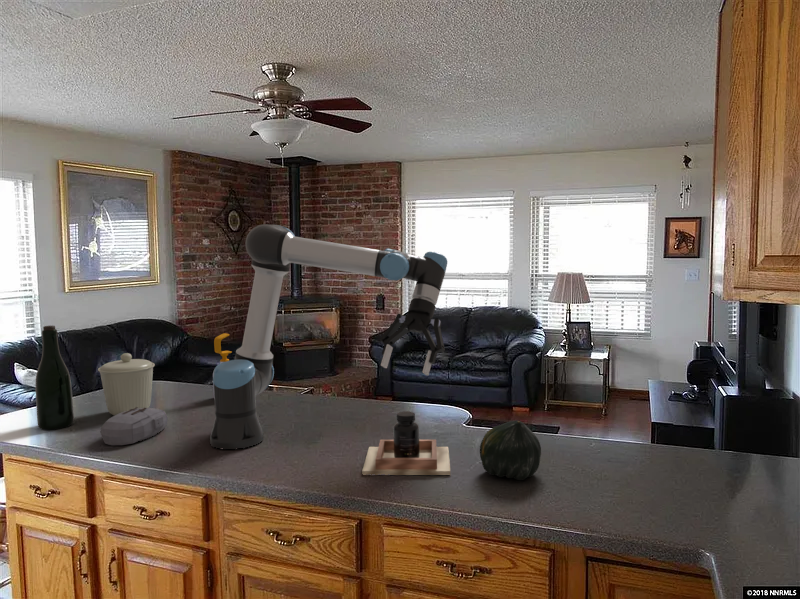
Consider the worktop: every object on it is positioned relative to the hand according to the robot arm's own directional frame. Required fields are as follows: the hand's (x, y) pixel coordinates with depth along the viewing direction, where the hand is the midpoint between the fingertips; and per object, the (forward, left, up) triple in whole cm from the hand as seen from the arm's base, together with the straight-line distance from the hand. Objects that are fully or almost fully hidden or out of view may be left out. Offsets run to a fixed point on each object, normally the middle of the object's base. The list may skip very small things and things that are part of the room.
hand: (404, 370), depth 174 cm
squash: (+27, -22, -22) cm, 42 cm away
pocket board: (+1, -14, -22) cm, 26 cm away
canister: (-98, +34, -22) cm, 106 cm away
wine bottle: (-115, +19, -22) cm, 118 cm away
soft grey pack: (-84, +7, -22) cm, 87 cm away
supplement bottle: (+1, -14, -21) cm, 25 cm away
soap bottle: (-70, +53, -22) cm, 90 cm away
